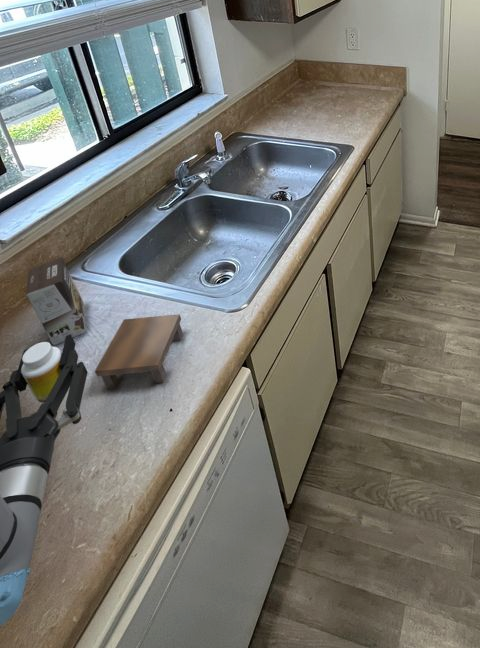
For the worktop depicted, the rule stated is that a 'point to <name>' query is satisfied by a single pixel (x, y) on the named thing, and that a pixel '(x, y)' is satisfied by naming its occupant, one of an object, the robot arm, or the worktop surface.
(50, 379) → the supplement bottle
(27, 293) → the coffee box
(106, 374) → the stool
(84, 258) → the worktop surface
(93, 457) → the worktop surface
